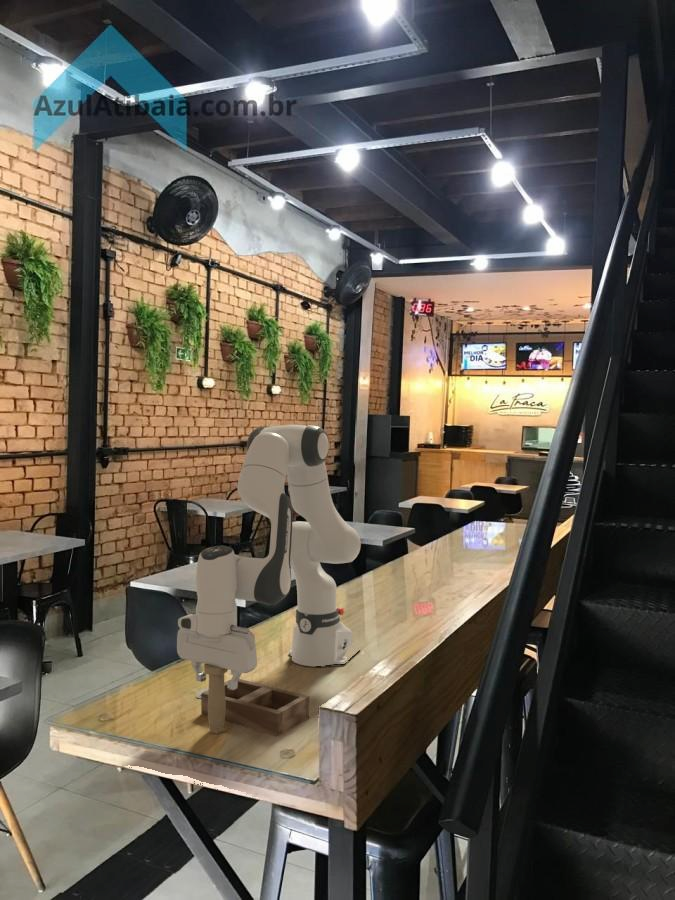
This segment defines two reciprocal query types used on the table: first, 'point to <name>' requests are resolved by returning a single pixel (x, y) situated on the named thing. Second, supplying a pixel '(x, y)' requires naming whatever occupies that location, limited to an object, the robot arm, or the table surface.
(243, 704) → the divided box
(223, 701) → the handle
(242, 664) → the robot arm
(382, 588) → the table surface
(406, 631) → the table surface
